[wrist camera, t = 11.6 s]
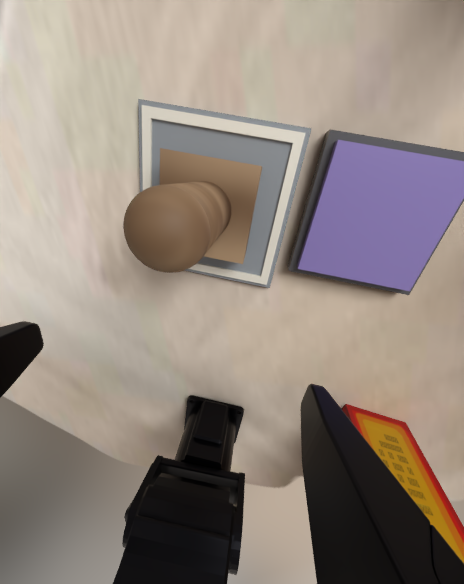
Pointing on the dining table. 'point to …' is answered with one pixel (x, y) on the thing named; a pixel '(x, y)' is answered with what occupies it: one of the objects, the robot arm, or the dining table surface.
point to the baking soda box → (410, 471)
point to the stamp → (193, 212)
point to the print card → (235, 147)
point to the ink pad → (377, 210)
